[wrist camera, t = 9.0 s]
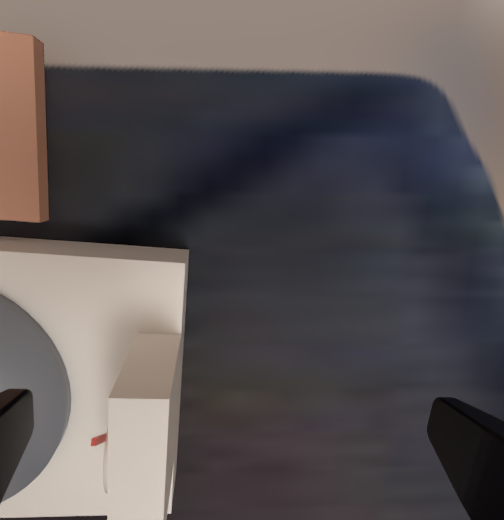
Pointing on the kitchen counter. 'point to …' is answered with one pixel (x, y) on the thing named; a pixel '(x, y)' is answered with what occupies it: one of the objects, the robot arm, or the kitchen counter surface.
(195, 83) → the kitchen counter surface
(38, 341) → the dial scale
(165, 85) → the kitchen counter surface
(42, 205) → the rubber mat
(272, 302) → the kitchen counter surface
